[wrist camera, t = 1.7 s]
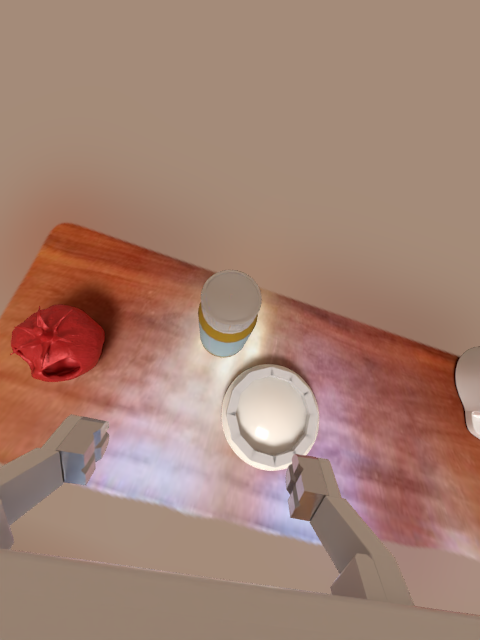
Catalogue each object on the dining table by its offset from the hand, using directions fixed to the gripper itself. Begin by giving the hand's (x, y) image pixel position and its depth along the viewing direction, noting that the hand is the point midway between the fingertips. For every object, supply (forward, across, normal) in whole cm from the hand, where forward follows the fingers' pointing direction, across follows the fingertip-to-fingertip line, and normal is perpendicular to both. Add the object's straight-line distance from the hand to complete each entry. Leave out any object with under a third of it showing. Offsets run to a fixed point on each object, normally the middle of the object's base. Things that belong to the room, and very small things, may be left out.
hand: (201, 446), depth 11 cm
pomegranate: (+23, +20, +14) cm, 34 cm away
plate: (+20, -9, +16) cm, 27 cm away
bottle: (+27, 0, +10) cm, 29 cm away
